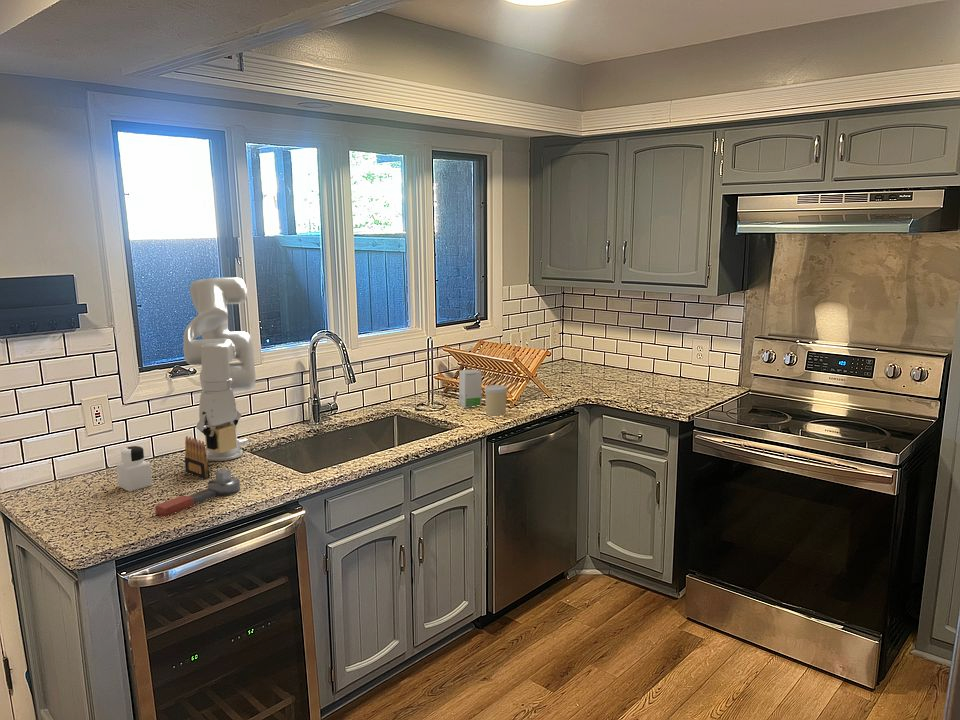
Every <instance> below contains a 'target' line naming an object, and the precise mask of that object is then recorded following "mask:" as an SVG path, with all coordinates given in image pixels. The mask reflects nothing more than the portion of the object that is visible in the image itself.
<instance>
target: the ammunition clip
mask: <svg viewBox="0 0 960 720" xmlns="http://www.w3.org/2000/svg"><path fill="white" fill-rule="evenodd" d="M184 444H185V445H184V453H185V456H184V466H185V467H184V469H185V473H186V472H187V474H189V473H190V474H189V475H192V474H193V475H192V476H194V475H195V477H197V476H198V477H197V478H200V479H202V478H203V479H202V480H207V479H210V478H211V477H210V475H211V474H210V466H209V461H208V460H207V454H206V451H207V450H206V443H205V442H204V441H203V440H202V441H201V440H200V439H199V440H198V439H197V438H194V437H191V436H188V435H186V437H185V443H184Z"/></svg>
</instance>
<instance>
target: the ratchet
mask: <svg viewBox="0 0 960 720" xmlns="http://www.w3.org/2000/svg"><path fill="white" fill-rule="evenodd" d="M214 473H215V478H213V479H211V480H209V481H208V482H207V488H205V489H203V490H200V491H198V492H195V493H192V494H188V495H184V494H182V495H179V496H176V497H174V498H172V499H168V500H166V501H163V502H161V503H158V504H156V505H154V510H155V514H156V515H158V514H159V515H158V516H161V515H162V516H161V517H164V516H165V517H164V518H167V517H169V516H168V515H170V516H172V515H174V514H173V513H175V512H177V513H179V512H178V511H180V512H182V511H184V510H183V509H185V510H187V509H189V508H188V507H190V506H192V507H194V506H195V505H197V504H196V503H198V502H200V503H202V502H201V501H203V502H205V501H207V500H206V499H208V500H210V499H212V497H213V498H215V497H225V496H224V495H226V496H231V495H233V493H234V494H236V493H238V492H240V490H241V481H240V478H238V477H235V476H232V474H231V469H227V468H221V469H218V470H216V471H215V472H214ZM230 494H231V495H230ZM214 496H215V497H214ZM209 498H210V499H209ZM204 500H205V501H204ZM194 504H195V505H194ZM198 504H199V503H198ZM193 505H194V506H193ZM186 508H187V509H186ZM190 508H191V507H190ZM181 510H182V511H181ZM171 514H172V515H171ZM175 514H176V513H175ZM166 516H167V517H166Z"/></svg>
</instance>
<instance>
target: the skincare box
mask: <svg viewBox="0 0 960 720" xmlns="http://www.w3.org/2000/svg"><path fill="white" fill-rule="evenodd" d="M458 374H459V375H458V376H459V378H458V379H459V380H458V381H459V382H458V383H459V388H458V393H459V395H458V398H459V399H458V405H459V407H461V406H462V408H463V407H464V408H463V409H468V408H467V407H472V406H477V405H481V406H482V393H483V391H482V388H483V387H482V381H483V380H482V377H483V373H482V371H481V370H478V369H461V370H459V373H458Z"/></svg>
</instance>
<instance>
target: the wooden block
mask: <svg viewBox="0 0 960 720" xmlns="http://www.w3.org/2000/svg"><path fill="white" fill-rule="evenodd" d="M210 429H211V427H210V428H209V431H210ZM236 430H237V429H236ZM236 430H235V425H233V424H228V423H225V424H222V425H219V426H216V427H215V431H214V435H213V436H215V438H216V449H215V450H212V449H208V448H207V441H206V436H205V435H204V438H205V439H204V440H205V442H204V443H205V449H206V451H212V452H217V453H223V452H226V451H229V450H232V449H235V448H237V445H236Z"/></svg>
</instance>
